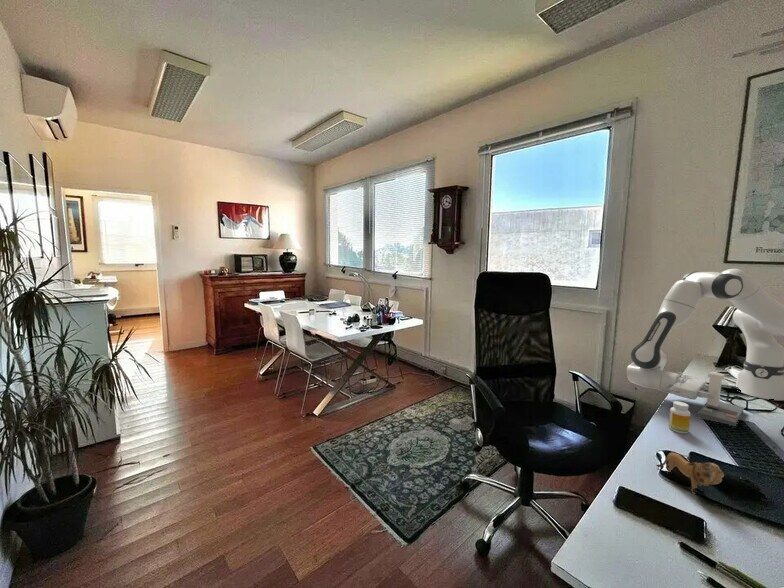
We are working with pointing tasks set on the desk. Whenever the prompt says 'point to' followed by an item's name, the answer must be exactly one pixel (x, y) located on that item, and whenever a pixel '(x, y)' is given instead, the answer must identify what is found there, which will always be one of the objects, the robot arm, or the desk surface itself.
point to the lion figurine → (695, 470)
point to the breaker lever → (714, 388)
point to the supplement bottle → (679, 417)
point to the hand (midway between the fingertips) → (717, 393)
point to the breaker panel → (722, 413)
